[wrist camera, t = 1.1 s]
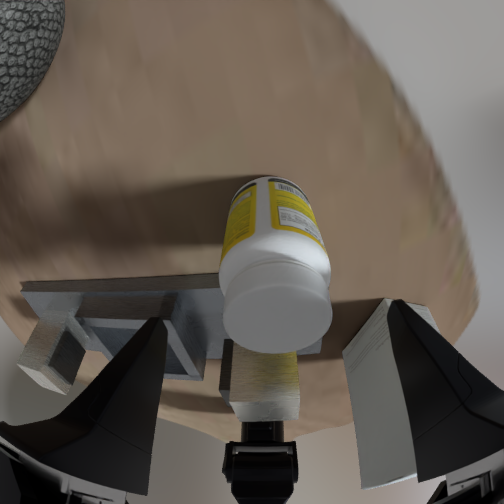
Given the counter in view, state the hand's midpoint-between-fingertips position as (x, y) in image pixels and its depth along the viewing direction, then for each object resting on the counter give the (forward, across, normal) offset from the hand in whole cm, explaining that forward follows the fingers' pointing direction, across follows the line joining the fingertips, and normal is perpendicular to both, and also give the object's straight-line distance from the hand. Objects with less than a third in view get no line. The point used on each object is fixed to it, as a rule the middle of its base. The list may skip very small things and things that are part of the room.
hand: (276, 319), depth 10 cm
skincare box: (+8, -10, +13) cm, 18 cm away
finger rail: (+8, +11, +9) cm, 16 cm away
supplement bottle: (+8, 0, 0) cm, 8 cm away
